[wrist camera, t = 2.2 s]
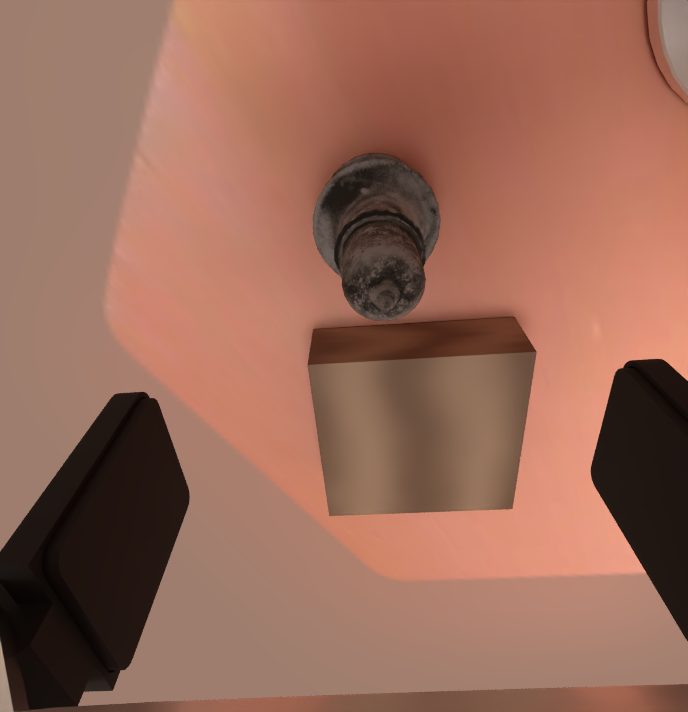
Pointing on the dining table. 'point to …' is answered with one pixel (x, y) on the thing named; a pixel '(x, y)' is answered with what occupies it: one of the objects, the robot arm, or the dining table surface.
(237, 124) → the dining table surface
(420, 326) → the brown flat wooden block
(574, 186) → the dining table surface
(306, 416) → the dining table surface
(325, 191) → the salt shaker
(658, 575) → the robot arm
